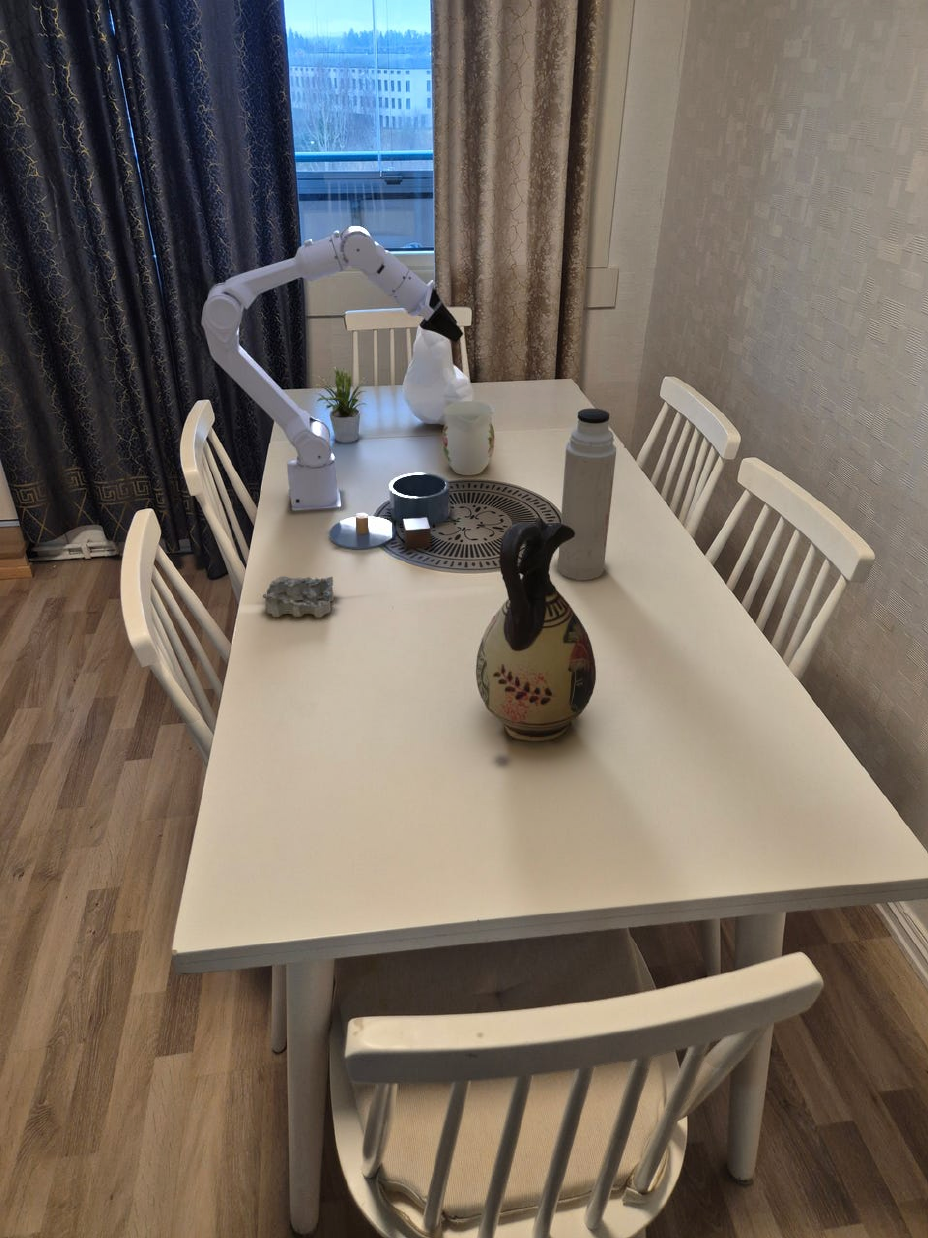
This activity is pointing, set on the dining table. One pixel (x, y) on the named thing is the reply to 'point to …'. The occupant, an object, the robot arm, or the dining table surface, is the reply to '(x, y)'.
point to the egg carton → (309, 594)
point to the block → (416, 533)
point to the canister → (419, 497)
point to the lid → (362, 532)
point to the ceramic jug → (534, 642)
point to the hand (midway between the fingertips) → (456, 331)
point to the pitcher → (468, 436)
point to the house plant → (343, 408)
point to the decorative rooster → (434, 378)
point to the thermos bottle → (587, 495)
